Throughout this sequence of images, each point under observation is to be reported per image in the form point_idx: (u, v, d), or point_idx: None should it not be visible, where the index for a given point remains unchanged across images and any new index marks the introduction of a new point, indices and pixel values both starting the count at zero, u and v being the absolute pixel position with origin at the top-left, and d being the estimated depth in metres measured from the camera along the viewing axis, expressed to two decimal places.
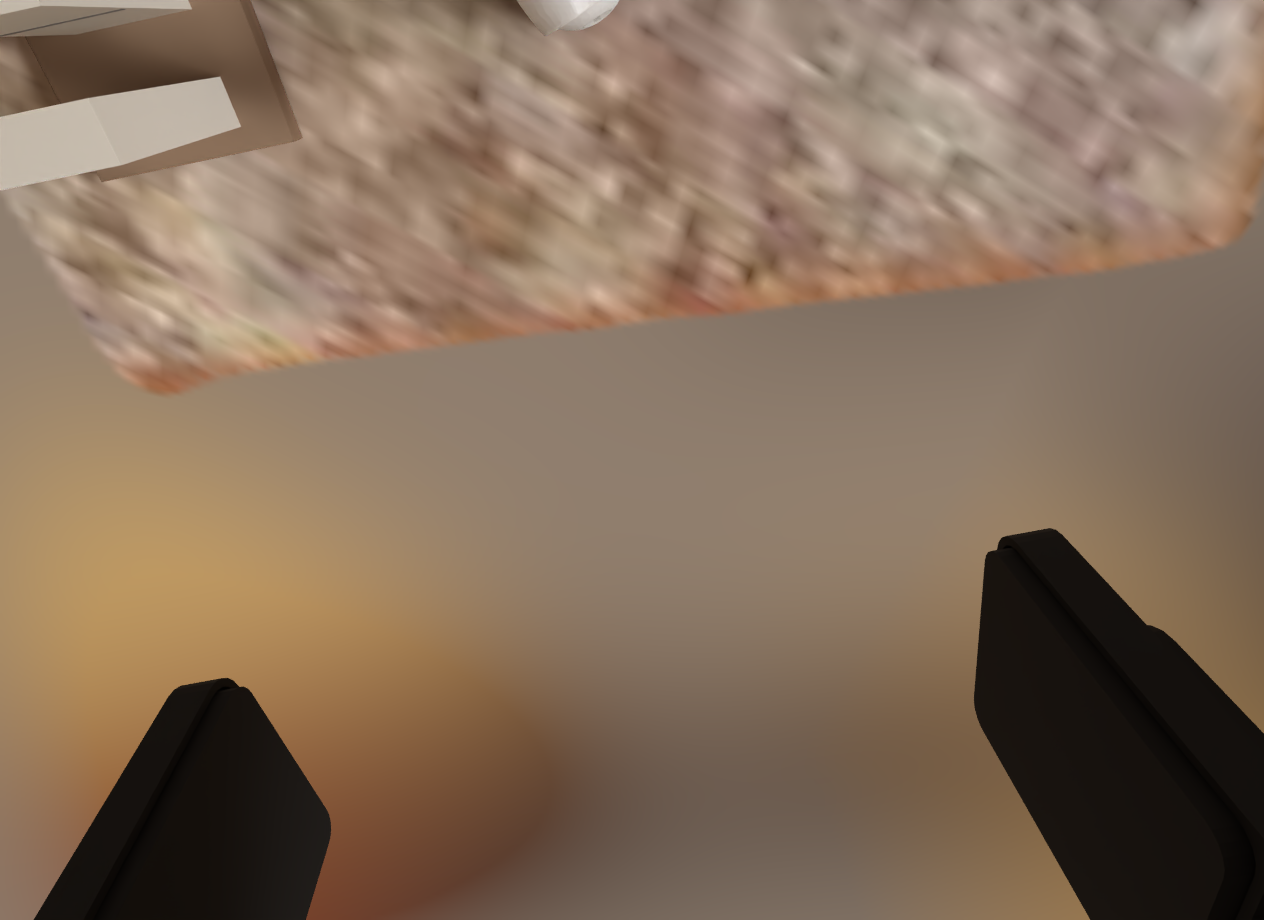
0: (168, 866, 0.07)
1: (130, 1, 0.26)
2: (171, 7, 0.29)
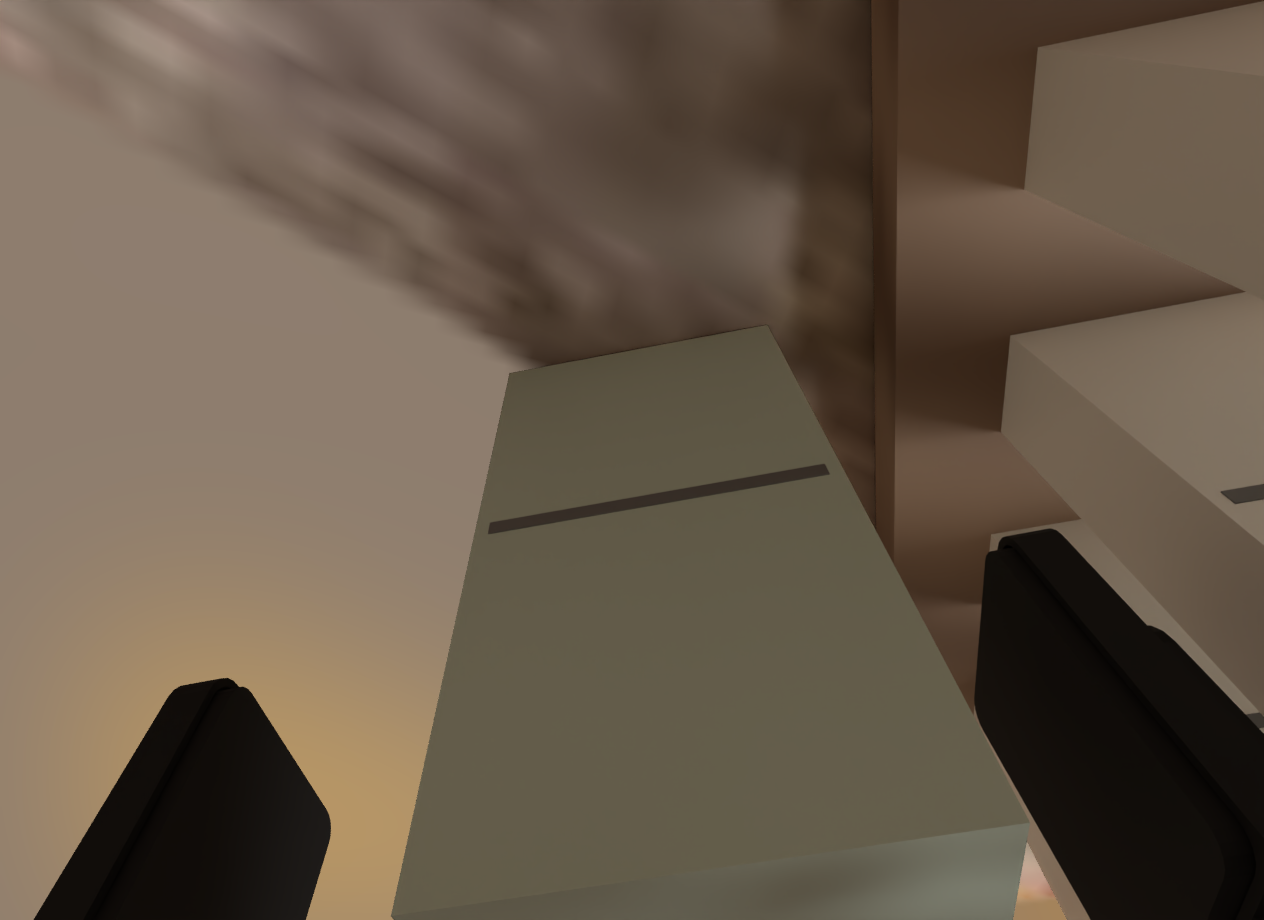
0: (168, 866, 0.07)
1: None
2: None
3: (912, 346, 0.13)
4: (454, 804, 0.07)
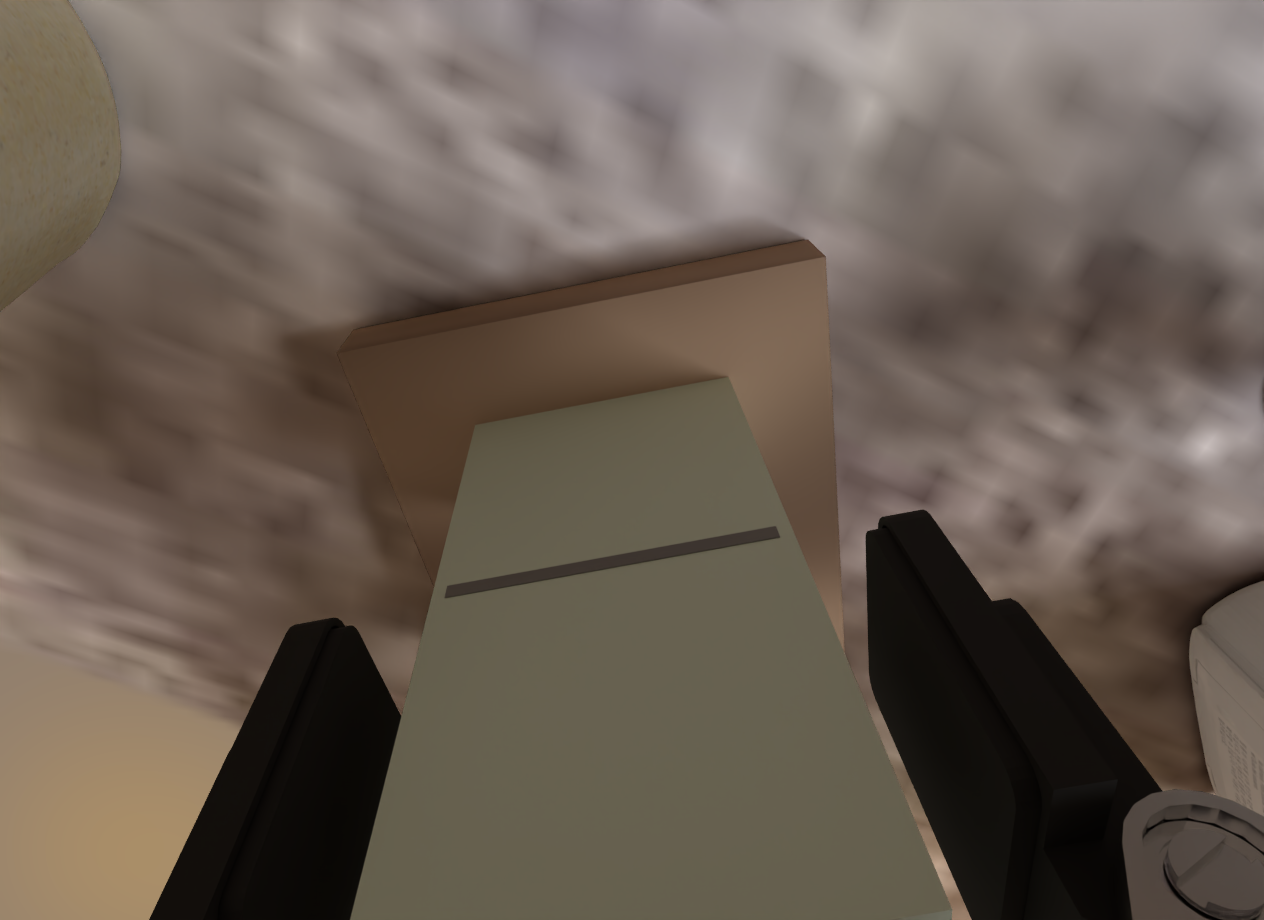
0: (307, 778, 0.08)
1: None
2: None
3: None
4: (396, 889, 0.07)
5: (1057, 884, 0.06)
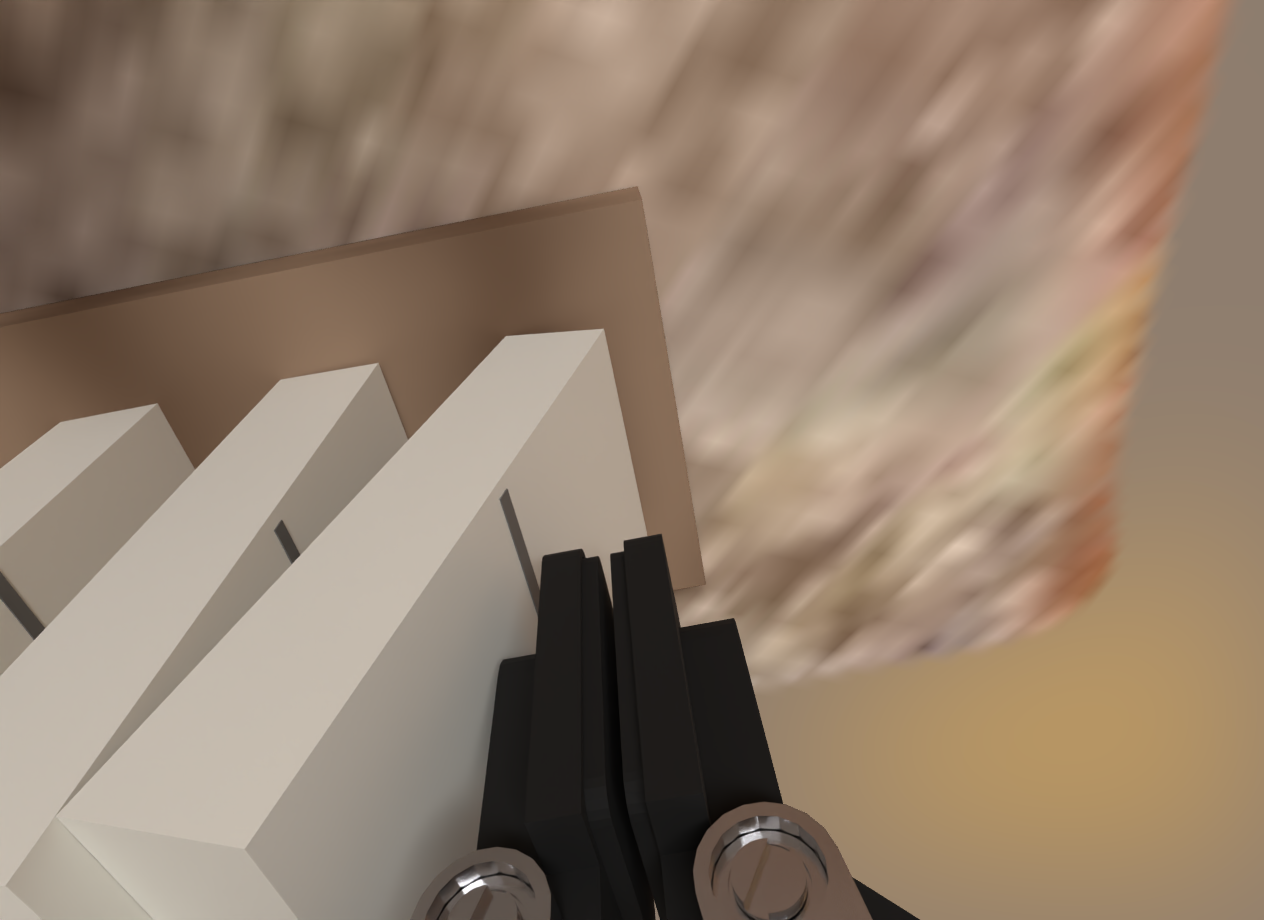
0: (607, 689, 0.08)
1: (267, 501, 0.10)
2: (346, 404, 0.13)
3: None
4: None
5: (665, 888, 0.07)
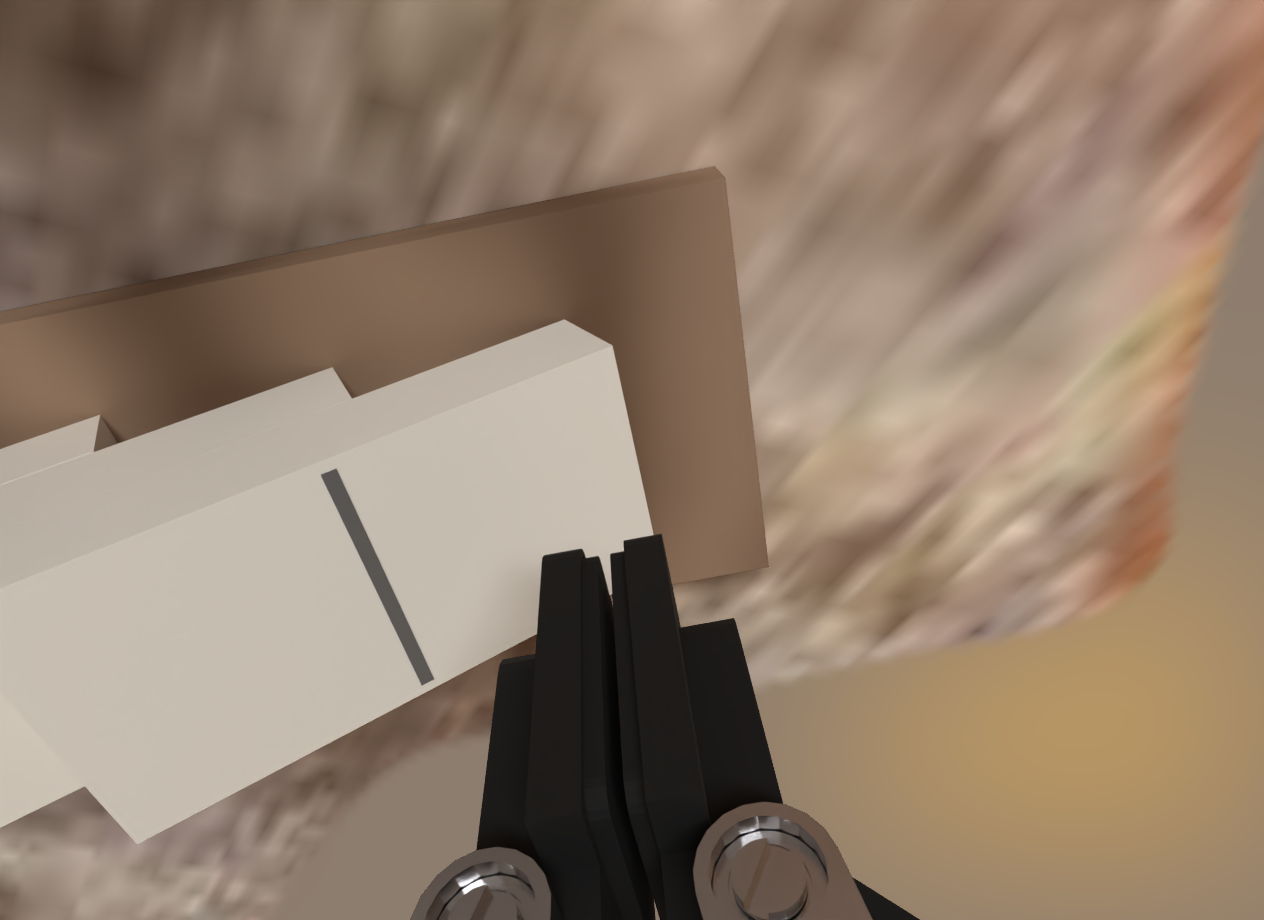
0: (607, 689, 0.08)
1: (55, 504, 0.12)
2: (248, 436, 0.12)
3: None
4: None
5: (665, 888, 0.07)
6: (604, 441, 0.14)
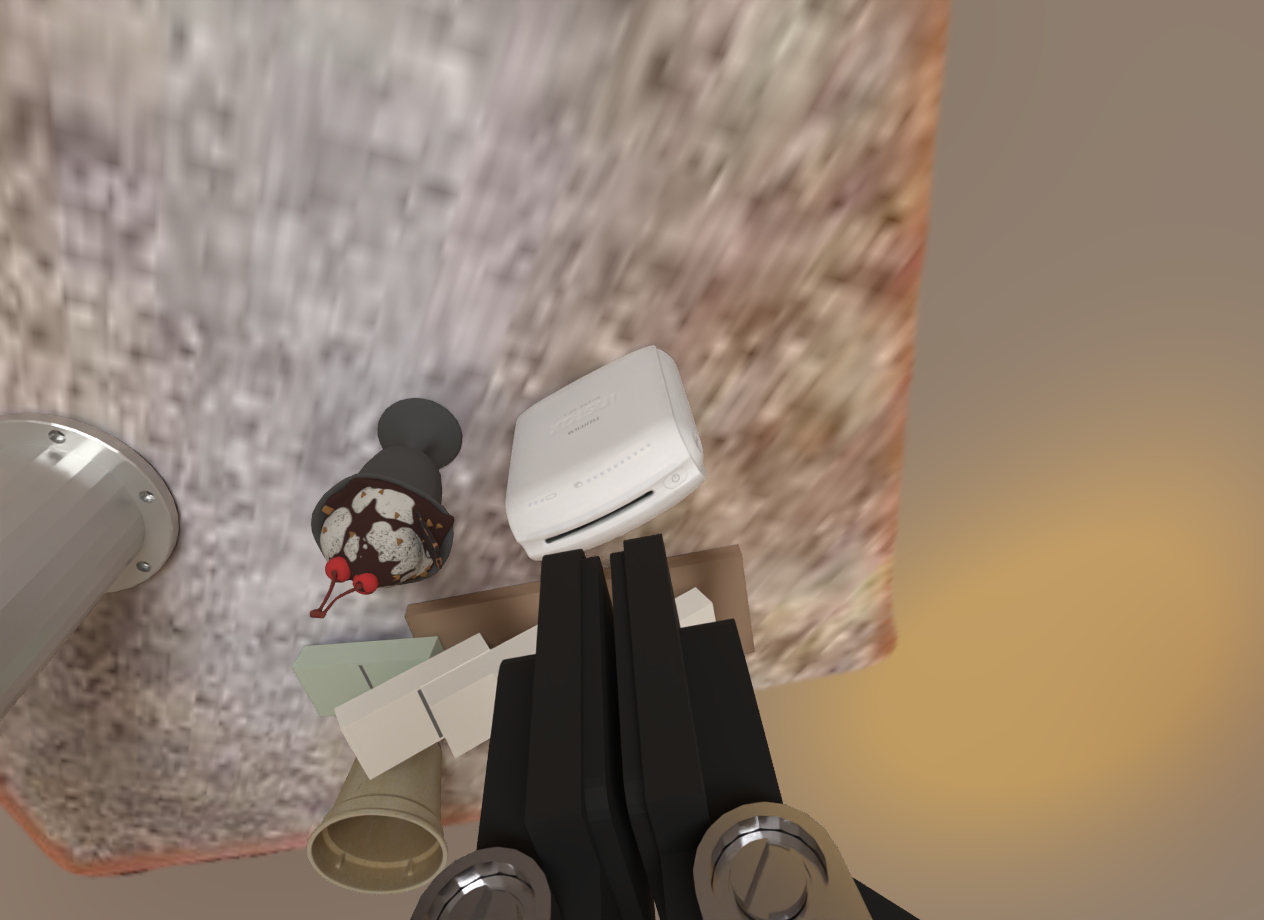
0: (607, 689, 0.08)
1: None
2: None
3: None
4: None
5: (664, 888, 0.07)
6: None
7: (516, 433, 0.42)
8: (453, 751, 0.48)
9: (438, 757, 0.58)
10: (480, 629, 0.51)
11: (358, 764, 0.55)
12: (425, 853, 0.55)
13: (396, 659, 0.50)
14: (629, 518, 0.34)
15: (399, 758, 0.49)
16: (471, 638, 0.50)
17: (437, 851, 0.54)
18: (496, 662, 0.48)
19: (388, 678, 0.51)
